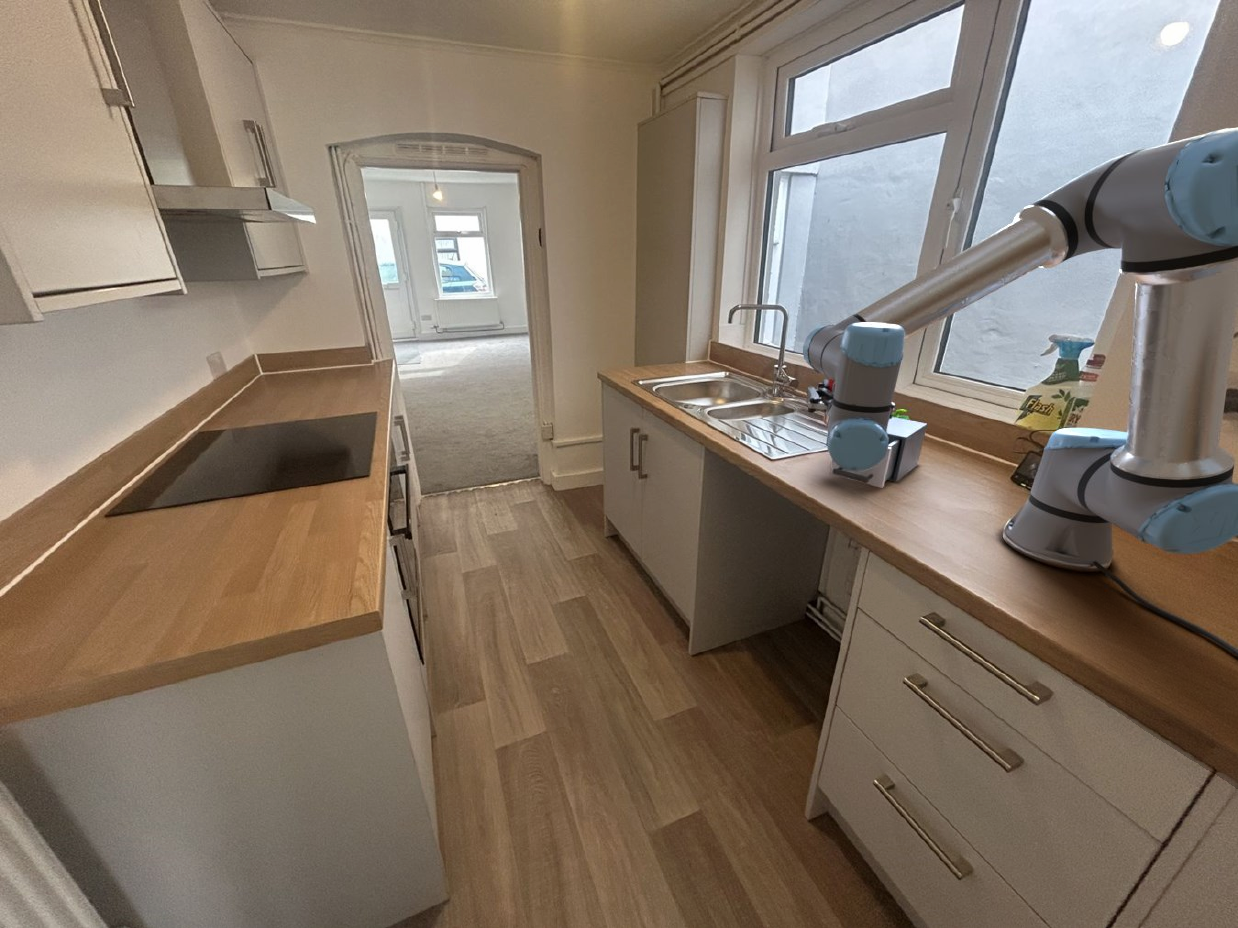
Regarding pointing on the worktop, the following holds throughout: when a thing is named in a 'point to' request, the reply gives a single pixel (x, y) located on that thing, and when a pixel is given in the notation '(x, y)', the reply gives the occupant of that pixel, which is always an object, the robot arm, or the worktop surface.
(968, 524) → the worktop surface
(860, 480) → the drawer
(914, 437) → the cabinet
